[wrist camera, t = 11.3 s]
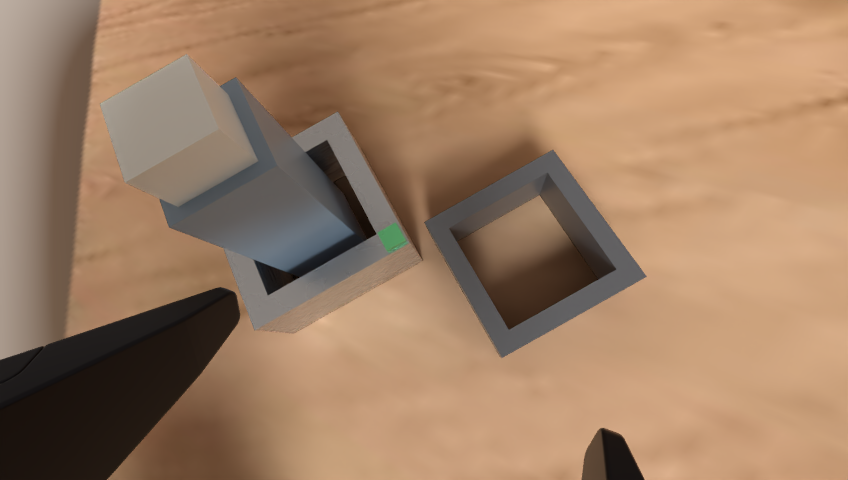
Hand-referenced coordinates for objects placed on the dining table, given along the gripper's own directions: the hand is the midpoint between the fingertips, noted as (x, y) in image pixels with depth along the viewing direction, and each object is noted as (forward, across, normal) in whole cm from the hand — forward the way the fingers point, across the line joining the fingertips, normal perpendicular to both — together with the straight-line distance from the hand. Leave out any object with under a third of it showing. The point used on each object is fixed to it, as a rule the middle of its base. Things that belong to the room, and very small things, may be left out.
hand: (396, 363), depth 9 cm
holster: (+13, -2, +5) cm, 14 cm away
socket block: (+12, +9, +6) cm, 16 cm away
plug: (+12, +9, +6) cm, 16 cm away
